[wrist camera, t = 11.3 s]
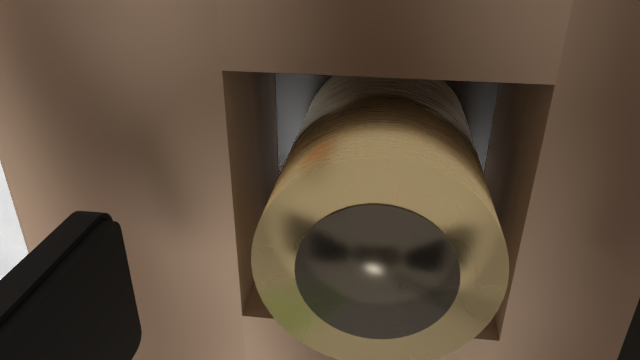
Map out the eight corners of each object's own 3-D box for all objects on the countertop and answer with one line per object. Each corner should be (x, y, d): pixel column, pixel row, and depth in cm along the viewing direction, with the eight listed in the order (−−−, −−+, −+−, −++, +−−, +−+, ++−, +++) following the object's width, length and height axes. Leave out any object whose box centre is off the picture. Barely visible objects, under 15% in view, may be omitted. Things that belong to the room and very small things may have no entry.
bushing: (477, 60, 15) (534, 169, 9) (455, 210, 17) (488, 382, 11) (304, 53, 16) (242, 151, 9) (305, 200, 18) (256, 358, 12)
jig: (829, -233, 11) (1106, -323, 7) (610, 373, 20) (671, 508, 15) (43, -216, 13) (-132, -275, 9) (147, 325, 22) (83, 433, 17)
